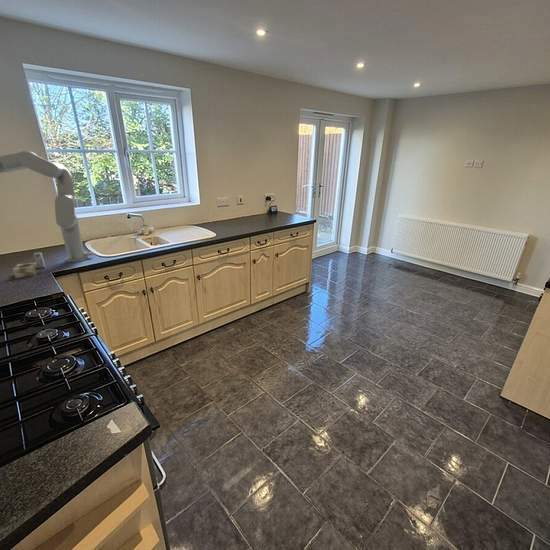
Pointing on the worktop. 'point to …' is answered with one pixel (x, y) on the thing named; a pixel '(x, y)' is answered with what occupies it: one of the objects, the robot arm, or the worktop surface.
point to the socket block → (26, 269)
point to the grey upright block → (39, 259)
